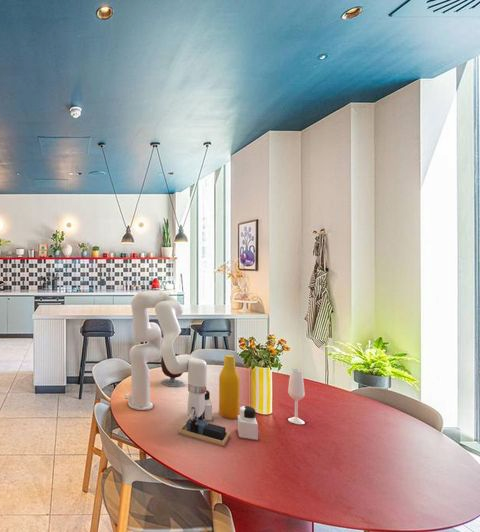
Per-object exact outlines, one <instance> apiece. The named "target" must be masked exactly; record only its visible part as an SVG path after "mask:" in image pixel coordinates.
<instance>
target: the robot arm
mask: <svg viewBox="0 0 480 532" xmlns="http://www.w3.org/2000/svg"><path fill="white" fill-rule="evenodd" d="M179 301H180V300H177V299H176V298H174V297H173V296H171V295H170V294H167V293H166V292H165V291H161V290H152V291H149V290H148V291H146V290H145V291H139V292H137V293H135V294H134V295H133V297H132V298H131V302H130V305H131V312H132V313H131V314H132V338H133V340H134V341H135V342H136V343H141V344H135V345H133V346H132V347H131V348H130V349H129V354H128V355H129V360H130V368H131V369H130V370H131V371H130V372H131V373H130V374H131V375H130V376H131V377H130V378H131V379H130V380H131V383H130V384H131V385H130V387H131V388H130V389H131V390H130V394H129V393H125V394H124V399H125V400H128V402H127V405H128V407H129V408H131V409H133V410H137V411H148V410H151V409H153V408H154V403H153V402H152V401H151V370H150V368H149V365H148V363H151V362H156V361H158V360H159V359H160V358H162V357H163V360H164V363H165V365H166V368H167V369H168V371H169V372H170V373H172V374H180V373H183V374H184V373H187V377H188V378H187V391H188V398H187V409H186V410H187V411H186V412H187V413H186V414H187V416H189V419H190V432H193V433H196V434H198V424H197V423H198V419H200V420H203V412H204V410H205V394H206V390H207V373H208V372H207V362H206V361H205V360H204V359H202V358H197V357H195V356H193V355H191V354H180V356H175V354H176V353H175V349H174V343H175V340H176V338H177V337H178V336H179V335H180V334H181V333H182V328H181V326H180V323H179V321H178V318H179V317H181V316H182V315H183V313H184V307H183V305H182V304H181V302H179ZM147 309H154V312H155V315H156V319H157V320H158V323H156V322H152V321H151V322H150V314H149V311H148V310H147ZM162 335H163V337H162ZM145 342H146V343H145ZM194 415H196V416H194ZM194 418H196V421H195V419H194Z"/></svg>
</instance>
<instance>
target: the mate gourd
mask: <svg viewBox="0 0 480 532" xmlns="http://www.w3.org/2000/svg"><path fill="white" fill-rule="evenodd" d="M180 355H181V354H179V353H175V356H180ZM160 366H161V371H162V373H163V375H164V376H166V377H168V379H163V380H162V385H164V386H165V387H171V388H178V387H179V388H180V387H182V386H183V385H184V382H183V381H182V380H179V379H176V378H180V377H181V376H182V375H183V374H184V373H180V374H172V373H170V372H169V371H168V369H167V368H166V365H165V363H164V360H163V357H162V356H161V360H160Z"/></svg>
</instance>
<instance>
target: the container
mask: <svg viewBox="0 0 480 532" xmlns="http://www.w3.org/2000/svg"><path fill="white" fill-rule="evenodd" d="M210 396H211V395H210V391H209V390H208V389H206V394H205V410H204V412H203V420H204V421H212V420H213V404H212V401H211V399H210V398H211V397H210ZM194 416H196V415H194Z"/></svg>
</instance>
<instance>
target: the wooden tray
mask: <svg viewBox="0 0 480 532" xmlns="http://www.w3.org/2000/svg"><path fill="white" fill-rule="evenodd" d="M187 421H188V420H186V421H185V422H184V424H183V425H182V426H181V427H180V428H179V430H178V431H179V434H182V435H186V436H189V437H192V438H196V439H199V440H202V441H205V442H209V443H213V444H216V445H220V446H222V447H224V446H225V445H226V443H227V441H228V439H229V438H230V432H229V431H226V436H225V438H224V440H223V441H221V440H217V439H214V438H210V437H207V436H205V434H204V435H200V434H196V433H193V432H189V431H186V429H187Z"/></svg>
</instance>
